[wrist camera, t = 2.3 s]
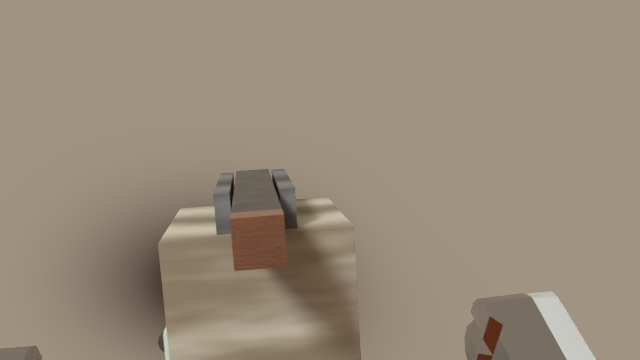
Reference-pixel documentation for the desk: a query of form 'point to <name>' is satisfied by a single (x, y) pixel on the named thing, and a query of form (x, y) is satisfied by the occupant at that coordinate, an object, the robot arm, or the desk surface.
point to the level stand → (260, 285)
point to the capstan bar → (257, 223)
